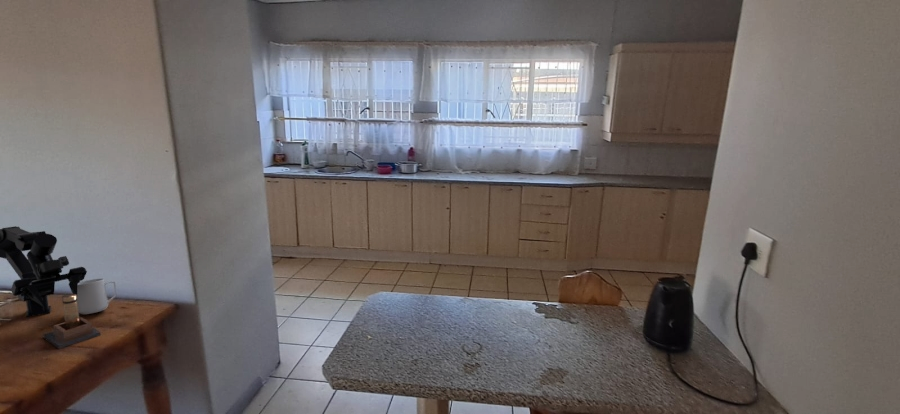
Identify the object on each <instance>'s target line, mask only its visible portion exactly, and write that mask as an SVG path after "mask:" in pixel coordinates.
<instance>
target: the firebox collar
mask: <svg viewBox="0 0 900 414" xmlns="http://www.w3.org/2000/svg"><path fill="white" fill-rule="evenodd" d="M79 320H80V326H78V327H75V328H72V329H68V330H66V325H65V321H64V322H62V323H58V324H54V325H53V331H51V332H47V333H43V334H42V337H43V338H44V339H45V340H46V339H47V341H48V342H49V343H50V342H51V344H52V345H53V346H54V347H56V348H57V349H62V348H65V347H69V346H71V345H74V344H78V343H81V342H84V341H87V340H90V339H92V337H93V338H96V337H98V336H99V337H100V336H101V331H99V330H97V329H96V328H94V327H93V323H92V322H90V321H89V320H87V319H86V318H84V317H81V316H80V317H79ZM80 341H81V342H80Z"/></svg>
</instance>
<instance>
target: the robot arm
mask: <svg viewBox="0 0 900 414" xmlns="http://www.w3.org/2000/svg"><path fill="white" fill-rule="evenodd" d="M57 242H58V239H57V237H56V236H55V235H54V234H51V233H46V231H44V230H43V231H34V232H31V231H28V230H25V229H22V228H20V226H9V227H8V226H7V227H2V228H0V258H1V259H5V260H7V262H8V264H9V265H10V266H11V268H12V269H13V270H14V272H15V273H16V274H17V276H18V277H19V279H16V280H14V281H13V282H12V285H11V290H10V291H11V293H12V296H14V297H16V296H17V298H18V299H19V300H20V301H22V302H25V305H26V313H25V316H24V317H25V318H31V317H35V316H42V315H46V314H50V313H51V311H52V310H51V309H52V306H51V305H49V299H48V296H51V295H54V293H55V284H56V282H60V281H61V282H62V281H64V280H68V282H69V283H68V287H69V289H70V291H71V294H76V295H77V285H78V283H79V282H82V281H83V280H85V276H86V275H87V272H88V270H87V269H86V267H83V266H79V267H74V268H69V271H68V272H67V273H63V274H61V273H62V272H63V270H62V269H64V267H68V266H69V265H70V262H69V258H68V257H67V255H64V256H60V257H58V258H57V259H53V257H52V253H54V250H55V247H56V245H57ZM26 251H27V252H26ZM23 252H26V253H27V254H26V255H25V254H24V253H23Z"/></svg>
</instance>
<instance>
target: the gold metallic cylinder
mask: <svg viewBox="0 0 900 414" xmlns="http://www.w3.org/2000/svg"><path fill="white" fill-rule="evenodd" d="M61 301H62V302H61V303H62V308H63V315H64V322H65V325H66V330H68V329H72V328H75V327H78V326H80V320H79V318H80V313H79V311H78V303H77V295H76V294H73V293H70V294H65V295H62V296H61Z"/></svg>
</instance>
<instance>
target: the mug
mask: <svg viewBox="0 0 900 414" xmlns="http://www.w3.org/2000/svg"><path fill="white" fill-rule="evenodd" d="M109 283H111V284H113V288H114V295H113V296H112V297H111V298H108V295H107V289H106V285H107V284H109ZM116 286H117V285H116V281H115V280H109V281H106V282H105V278H93V279H89V280H88V279H87V280H84V281H83V280H82V281H80V282H79V283H78V285H77V303H78V311H79V314H81V315H89V314H94V313H95V314H96V313H98V312H99V313H100V312H102V311H105V310H106V309H107V308H108V307H109V304H110V302H112V300H114V299H115V297H116V296H117V287H116Z"/></svg>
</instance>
